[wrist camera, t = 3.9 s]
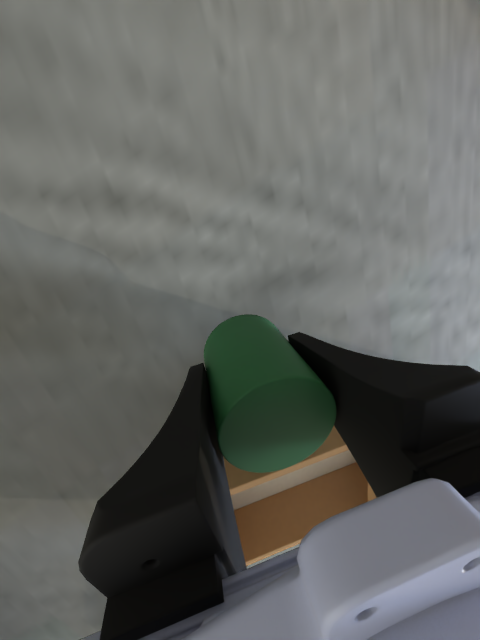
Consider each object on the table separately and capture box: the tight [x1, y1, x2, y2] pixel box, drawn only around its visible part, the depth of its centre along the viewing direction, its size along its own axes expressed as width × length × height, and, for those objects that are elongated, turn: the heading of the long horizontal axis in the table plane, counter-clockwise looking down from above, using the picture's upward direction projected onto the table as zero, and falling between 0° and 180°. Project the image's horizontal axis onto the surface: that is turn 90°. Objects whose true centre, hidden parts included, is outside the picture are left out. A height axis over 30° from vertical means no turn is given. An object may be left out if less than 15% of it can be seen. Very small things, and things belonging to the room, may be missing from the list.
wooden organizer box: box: [223, 426, 377, 566], centre depth 18 cm, size 18×9×7 cm, turn 103°
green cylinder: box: [204, 315, 336, 473], centre depth 11 cm, size 4×4×6 cm
